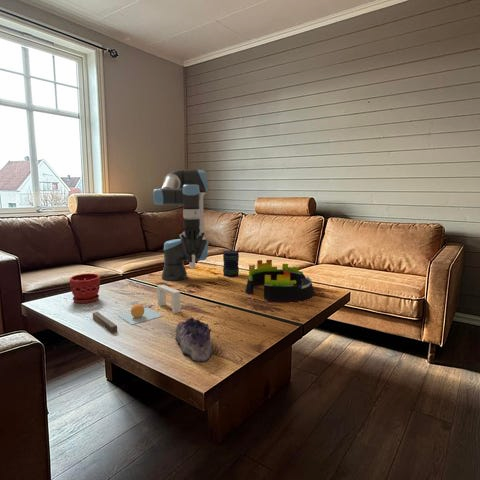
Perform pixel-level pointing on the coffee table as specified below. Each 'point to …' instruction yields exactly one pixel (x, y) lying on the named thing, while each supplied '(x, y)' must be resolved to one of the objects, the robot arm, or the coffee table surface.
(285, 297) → the curved castle wall
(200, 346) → the geode
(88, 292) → the plant pot
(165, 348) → the coffee table surface
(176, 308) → the bridge
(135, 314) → the ball
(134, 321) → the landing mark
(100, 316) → the wall
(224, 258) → the storage jar
